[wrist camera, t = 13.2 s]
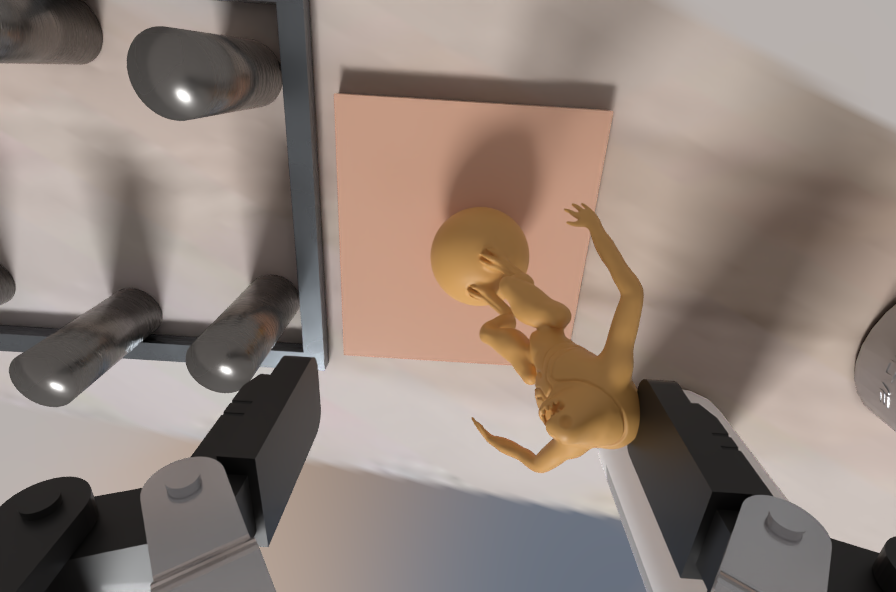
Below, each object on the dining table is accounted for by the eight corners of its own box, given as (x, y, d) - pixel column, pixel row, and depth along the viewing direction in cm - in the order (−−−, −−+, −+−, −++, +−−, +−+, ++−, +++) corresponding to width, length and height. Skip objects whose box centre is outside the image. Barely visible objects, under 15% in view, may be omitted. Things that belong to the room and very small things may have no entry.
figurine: (466, 132, 20) (469, 211, 9) (603, 180, 20) (765, 310, 9) (408, 307, 23) (359, 521, 12) (527, 344, 24) (581, 578, 13)
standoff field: (307, -25, 18) (242, -66, 13) (328, 362, 25) (292, 441, 20) (-203, -58, 18) (-488, -113, 13) (-38, 339, 25) (-174, 413, 20)
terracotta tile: (607, 109, 20) (613, 111, 19) (562, 360, 25) (565, 368, 24) (338, 92, 20) (333, 93, 19) (347, 346, 25) (344, 355, 24)
